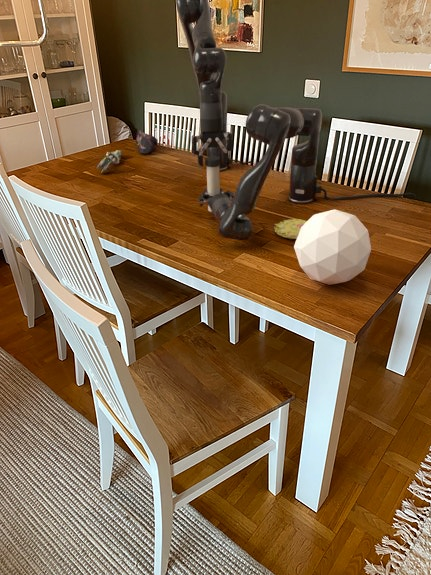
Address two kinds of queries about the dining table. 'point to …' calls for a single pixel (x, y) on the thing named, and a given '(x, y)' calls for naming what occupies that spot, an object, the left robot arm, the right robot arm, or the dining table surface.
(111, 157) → the figurine
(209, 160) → the lid
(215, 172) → the bottle
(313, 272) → the sphere
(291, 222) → the decorative object
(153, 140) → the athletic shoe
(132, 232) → the dining table surface
